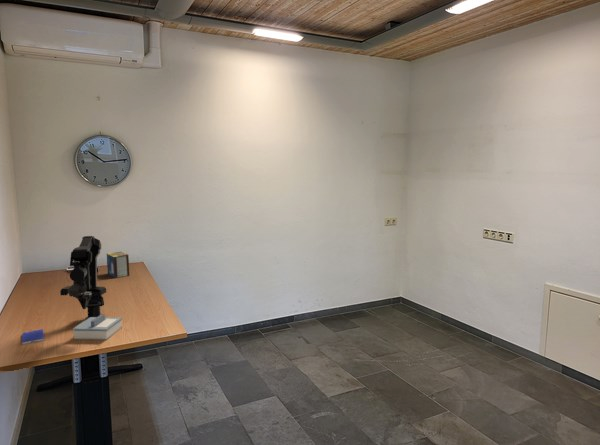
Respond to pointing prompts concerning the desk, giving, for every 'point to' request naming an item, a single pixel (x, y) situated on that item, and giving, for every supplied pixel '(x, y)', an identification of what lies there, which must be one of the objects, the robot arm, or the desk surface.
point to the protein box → (118, 264)
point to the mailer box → (97, 333)
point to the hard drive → (32, 336)
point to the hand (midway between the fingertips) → (84, 308)
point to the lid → (97, 323)
